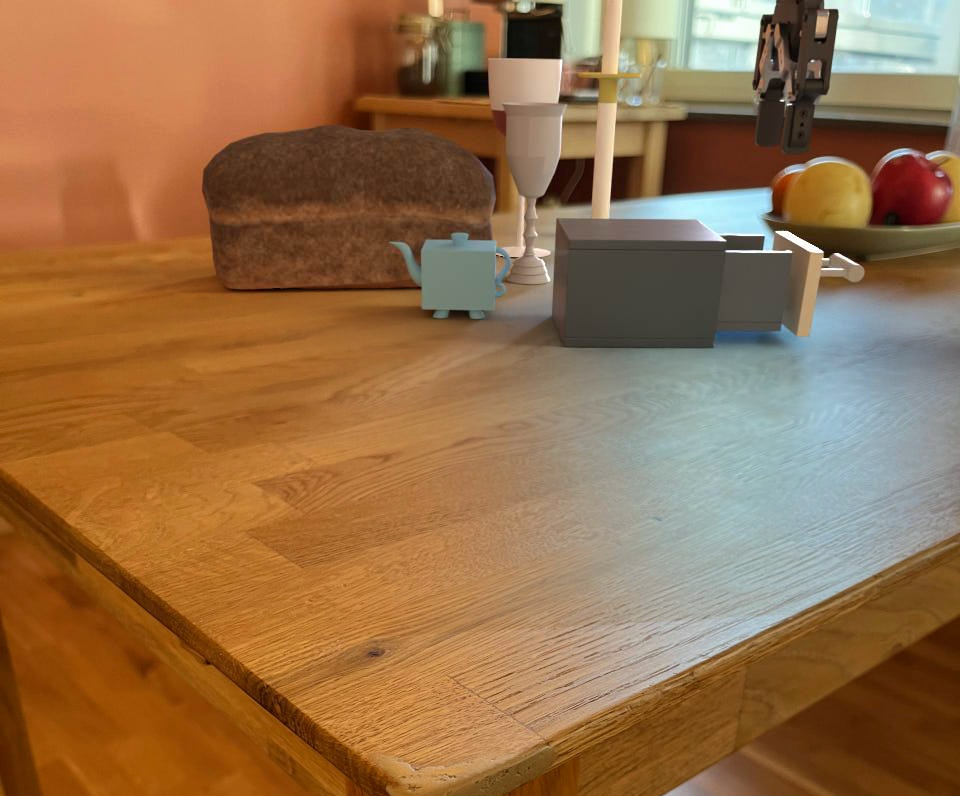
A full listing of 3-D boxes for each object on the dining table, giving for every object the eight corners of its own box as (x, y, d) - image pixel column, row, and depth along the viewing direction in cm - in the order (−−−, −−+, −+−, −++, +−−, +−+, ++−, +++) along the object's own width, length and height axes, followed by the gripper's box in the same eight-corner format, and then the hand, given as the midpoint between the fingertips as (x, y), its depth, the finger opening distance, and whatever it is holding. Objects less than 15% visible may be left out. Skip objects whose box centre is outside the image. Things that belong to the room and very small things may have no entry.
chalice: (485, 278, 118) (488, 103, 109) (528, 271, 122) (534, 101, 113) (528, 288, 113) (534, 106, 104) (571, 281, 117) (581, 105, 108)
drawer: (824, 309, 102) (837, 231, 98) (863, 337, 92) (880, 252, 88) (651, 307, 101) (658, 230, 98) (672, 336, 92) (681, 250, 88)
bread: (501, 290, 112) (505, 130, 104) (206, 294, 108) (187, 128, 100) (483, 265, 125) (485, 120, 117) (218, 268, 121) (201, 119, 113)
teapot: (388, 318, 100) (385, 237, 96) (394, 304, 105) (391, 227, 101) (509, 320, 100) (511, 239, 96) (509, 306, 105) (511, 229, 101)
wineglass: (563, 249, 135) (573, 59, 124) (536, 261, 128) (544, 59, 117) (503, 244, 138) (507, 58, 127) (473, 255, 131) (475, 58, 120)
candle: (555, 232, 148) (570, -82, 129) (621, 231, 150) (645, -80, 131) (573, 243, 139) (591, -91, 121) (643, 242, 141) (672, -88, 122)
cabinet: (686, 316, 103) (696, 219, 98) (713, 348, 92) (727, 241, 87) (551, 314, 102) (556, 218, 98) (563, 347, 91) (569, 239, 87)
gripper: (888, -83, 76) (849, 157, 84) (826, -65, 88) (797, 143, 96) (788, -84, 76) (758, 157, 84) (740, -65, 88) (718, 143, 96)
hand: (779, 149), depth 90 cm, fingers open, 8 cm apart
